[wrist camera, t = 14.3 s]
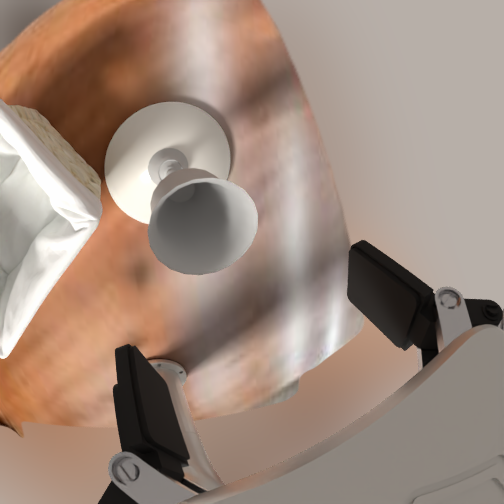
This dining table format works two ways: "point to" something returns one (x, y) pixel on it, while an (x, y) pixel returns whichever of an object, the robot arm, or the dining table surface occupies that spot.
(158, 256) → the chalice
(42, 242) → the storage basket
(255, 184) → the dining table surface
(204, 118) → the plate
